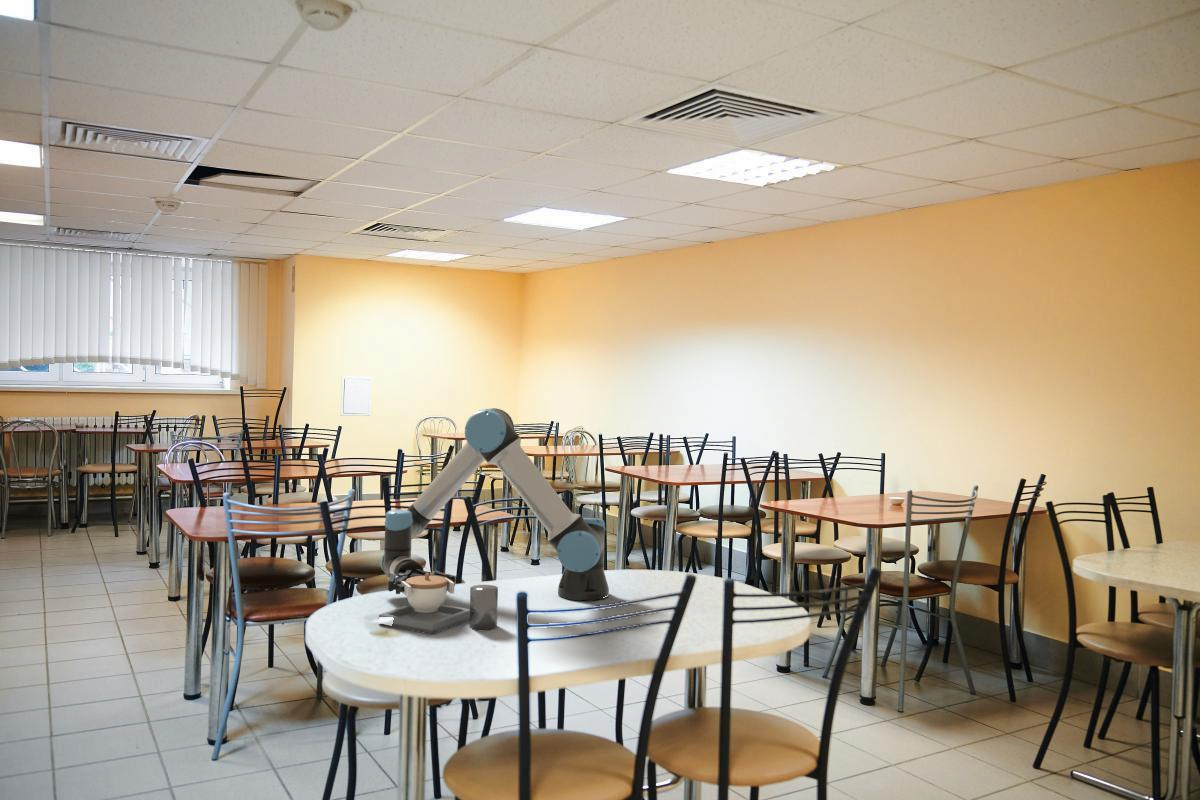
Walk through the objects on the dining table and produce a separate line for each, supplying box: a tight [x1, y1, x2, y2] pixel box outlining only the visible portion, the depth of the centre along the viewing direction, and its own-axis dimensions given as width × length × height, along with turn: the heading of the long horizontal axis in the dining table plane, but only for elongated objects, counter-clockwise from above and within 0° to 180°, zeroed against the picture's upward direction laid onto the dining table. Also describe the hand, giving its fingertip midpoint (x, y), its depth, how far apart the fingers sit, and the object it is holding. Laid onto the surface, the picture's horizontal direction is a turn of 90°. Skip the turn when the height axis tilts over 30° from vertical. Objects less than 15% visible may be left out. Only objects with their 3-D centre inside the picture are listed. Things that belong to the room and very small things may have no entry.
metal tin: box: [468, 584, 499, 631], centre depth 225 cm, size 7×7×10 cm
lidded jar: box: [406, 573, 448, 613], centre depth 228 cm, size 11×11×9 cm
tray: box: [378, 603, 470, 635], centre depth 228 cm, size 17×17×2 cm
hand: (431, 590), depth 224 cm, fingers closed on lidded jar, 11 cm apart
